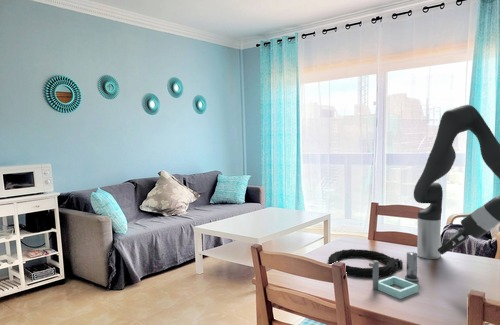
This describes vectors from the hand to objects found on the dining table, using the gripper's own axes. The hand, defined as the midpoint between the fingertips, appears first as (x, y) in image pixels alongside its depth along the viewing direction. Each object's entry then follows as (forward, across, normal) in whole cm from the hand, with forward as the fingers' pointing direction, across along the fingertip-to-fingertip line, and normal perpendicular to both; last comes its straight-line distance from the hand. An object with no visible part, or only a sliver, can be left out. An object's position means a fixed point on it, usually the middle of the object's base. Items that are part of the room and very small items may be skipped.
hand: (442, 249), depth 129 cm
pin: (+17, 0, +2) cm, 17 cm away
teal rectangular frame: (+19, +14, +1) cm, 23 cm away
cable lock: (+31, -4, -11) cm, 33 cm away
